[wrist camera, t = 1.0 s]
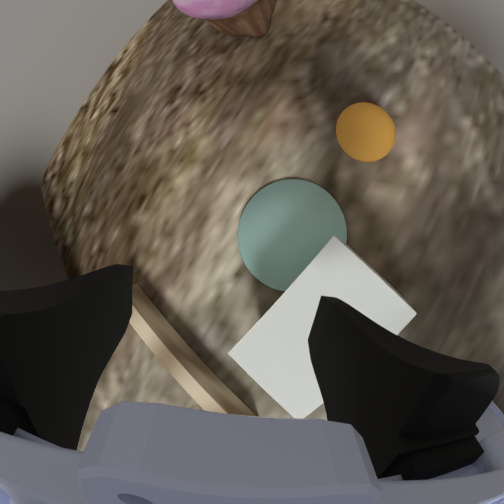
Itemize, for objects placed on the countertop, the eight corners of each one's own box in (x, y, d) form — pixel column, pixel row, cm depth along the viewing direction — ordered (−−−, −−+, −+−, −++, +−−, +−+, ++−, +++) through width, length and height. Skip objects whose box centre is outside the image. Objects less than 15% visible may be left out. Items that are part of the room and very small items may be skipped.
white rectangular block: (403, 297, 19) (416, 313, 13) (317, 384, 21) (298, 421, 15) (342, 241, 20) (333, 235, 15) (262, 331, 22) (227, 353, 17)
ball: (404, 139, 18) (409, 115, 15) (372, 180, 19) (372, 163, 16) (359, 108, 20) (356, 80, 16) (328, 146, 21) (318, 124, 17)
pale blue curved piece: (370, 228, 19) (370, 228, 19) (294, 314, 21) (294, 314, 21) (284, 158, 22) (284, 158, 22) (219, 240, 24) (218, 241, 23)
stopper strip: (258, 417, 22) (247, 432, 20) (247, 426, 23) (235, 440, 20) (137, 283, 27) (118, 285, 24) (130, 295, 27) (111, 297, 25)
